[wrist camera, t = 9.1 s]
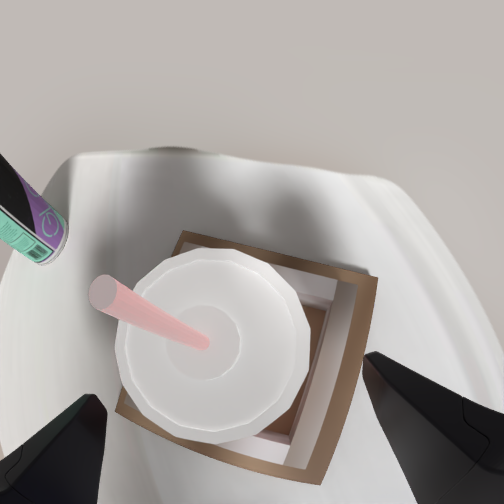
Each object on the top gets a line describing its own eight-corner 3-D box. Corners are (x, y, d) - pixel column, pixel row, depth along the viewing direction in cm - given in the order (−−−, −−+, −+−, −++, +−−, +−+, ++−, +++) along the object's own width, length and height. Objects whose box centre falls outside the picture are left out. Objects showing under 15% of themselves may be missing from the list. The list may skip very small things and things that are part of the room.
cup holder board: (373, 282, 18) (391, 263, 15) (318, 480, 13) (326, 500, 9) (187, 236, 21) (171, 211, 18) (122, 410, 16) (93, 413, 12)
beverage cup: (190, 316, 17) (23, 174, 5) (287, 304, 17) (296, 98, 4) (199, 411, 15) (-5, 461, 2) (302, 401, 14) (390, 506, 2)
